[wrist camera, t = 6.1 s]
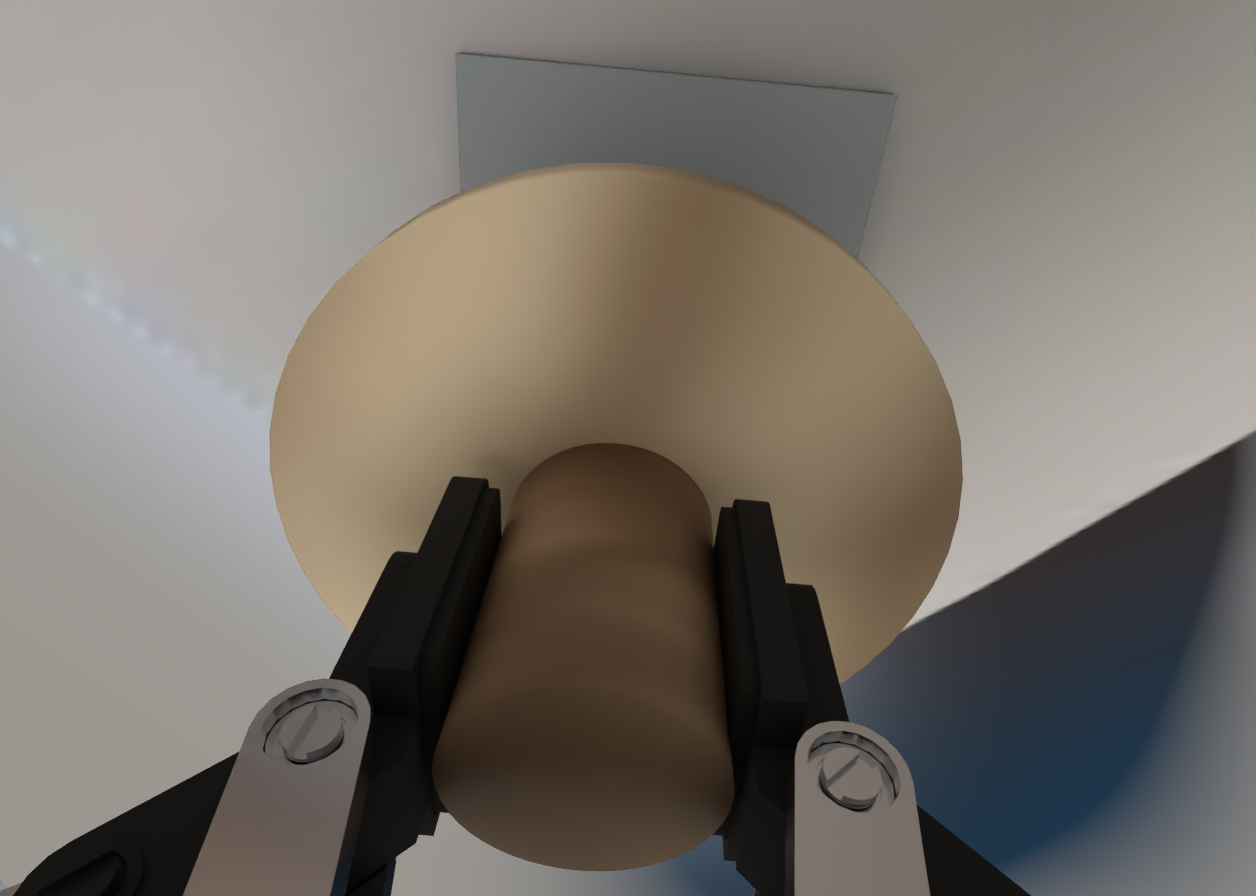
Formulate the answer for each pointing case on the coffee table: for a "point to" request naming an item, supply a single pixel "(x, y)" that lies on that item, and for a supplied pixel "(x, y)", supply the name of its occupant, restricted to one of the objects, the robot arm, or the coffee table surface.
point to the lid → (614, 475)
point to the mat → (678, 131)
